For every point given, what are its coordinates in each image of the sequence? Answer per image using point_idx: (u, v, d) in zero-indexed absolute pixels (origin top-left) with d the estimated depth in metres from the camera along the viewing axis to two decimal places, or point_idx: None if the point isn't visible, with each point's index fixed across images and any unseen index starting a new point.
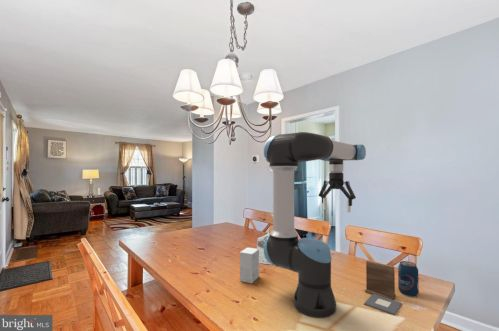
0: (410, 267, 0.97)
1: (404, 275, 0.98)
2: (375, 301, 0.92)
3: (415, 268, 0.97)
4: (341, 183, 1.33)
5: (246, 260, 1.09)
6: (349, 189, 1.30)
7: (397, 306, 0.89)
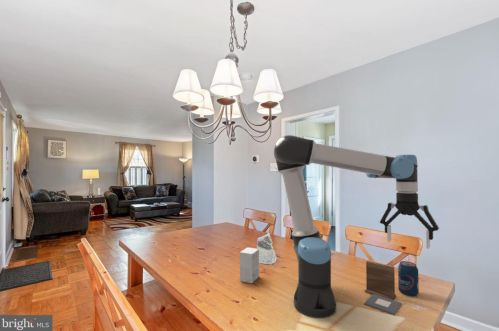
0: (410, 267, 0.97)
1: (404, 275, 0.98)
2: (375, 301, 0.92)
3: (415, 268, 0.97)
4: (416, 208, 0.98)
5: (246, 260, 1.09)
6: (430, 217, 0.94)
7: (397, 306, 0.89)
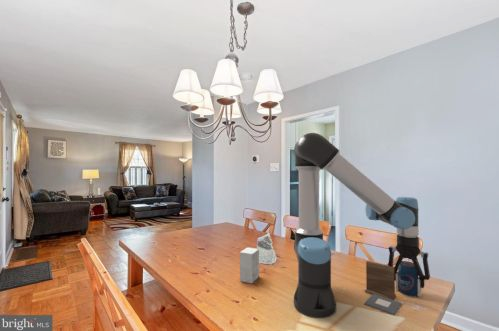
0: (410, 267, 0.97)
1: (404, 275, 0.98)
2: (375, 301, 0.92)
3: (415, 268, 0.97)
4: (416, 252, 0.97)
5: (246, 260, 1.09)
6: (426, 266, 0.95)
7: (397, 306, 0.89)
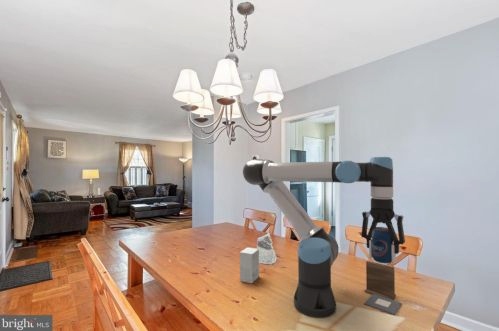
0: (384, 231, 0.89)
1: (377, 241, 0.90)
2: (375, 301, 0.92)
3: (389, 232, 0.89)
4: (390, 215, 0.89)
5: (246, 260, 1.09)
6: (400, 229, 0.87)
7: (397, 306, 0.89)
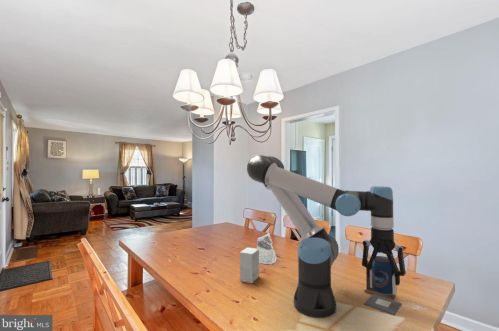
0: (384, 262, 0.89)
1: (378, 271, 0.89)
2: (375, 301, 0.92)
3: None
4: (391, 246, 0.89)
5: (246, 260, 1.09)
6: (401, 260, 0.86)
7: (397, 306, 0.89)
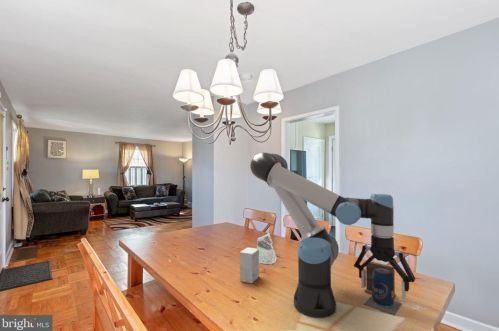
0: (384, 274, 0.89)
1: (378, 283, 0.89)
2: None
3: (389, 275, 0.89)
4: (391, 254, 0.89)
5: (246, 260, 1.09)
6: (405, 266, 0.85)
7: (397, 306, 0.89)
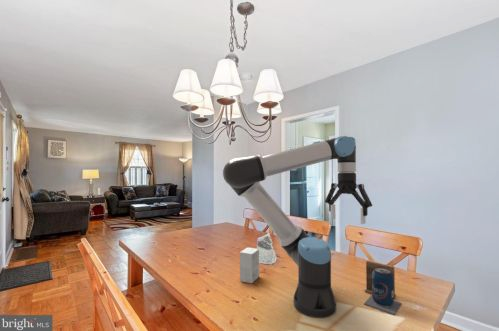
0: (384, 274, 0.89)
1: (377, 283, 0.89)
2: None
3: (389, 275, 0.89)
4: (353, 186, 1.04)
5: (246, 260, 1.09)
6: (363, 194, 1.00)
7: (397, 306, 0.89)
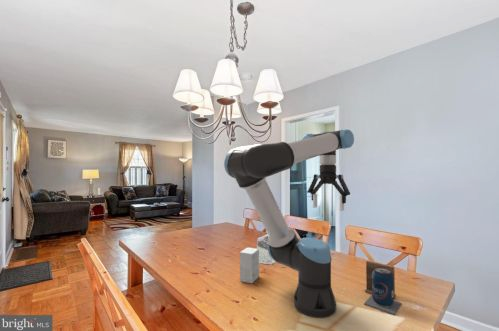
0: (384, 274, 0.89)
1: (377, 283, 0.89)
2: None
3: (389, 275, 0.89)
4: (333, 177, 1.14)
5: (246, 260, 1.09)
6: (342, 184, 1.11)
7: (397, 306, 0.89)
